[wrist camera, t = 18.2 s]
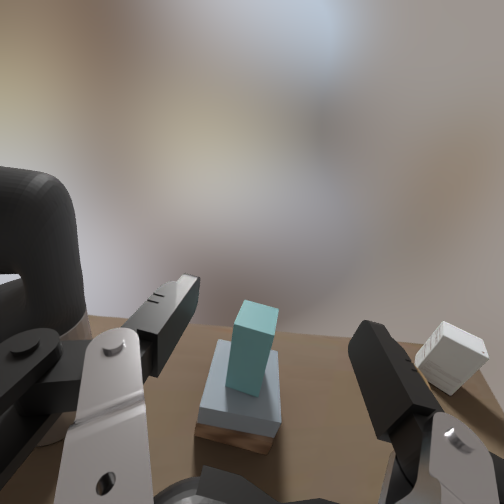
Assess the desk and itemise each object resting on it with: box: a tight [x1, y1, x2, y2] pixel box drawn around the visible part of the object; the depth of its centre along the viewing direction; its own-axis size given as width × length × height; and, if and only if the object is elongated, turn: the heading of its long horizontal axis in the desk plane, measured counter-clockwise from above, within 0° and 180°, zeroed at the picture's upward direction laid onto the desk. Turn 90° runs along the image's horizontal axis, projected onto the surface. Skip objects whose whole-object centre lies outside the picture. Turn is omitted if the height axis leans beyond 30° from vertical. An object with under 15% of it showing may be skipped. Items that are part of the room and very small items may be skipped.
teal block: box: [225, 300, 279, 397], centre depth 29 cm, size 5×5×12 cm
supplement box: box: [415, 321, 489, 396], centre depth 46 cm, size 7×7×13 cm
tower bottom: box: [194, 419, 273, 455], centre depth 34 cm, size 11×11×4 cm
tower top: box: [197, 339, 281, 438], centre depth 32 cm, size 11×11×4 cm
